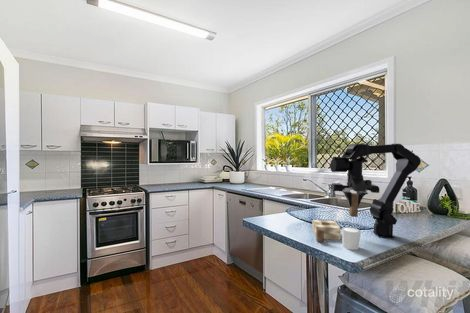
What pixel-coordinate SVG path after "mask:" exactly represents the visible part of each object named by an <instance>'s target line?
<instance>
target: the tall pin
mask: <svg viewBox="0 0 470 313" xmlns="http://www.w3.org/2000/svg"><path fill="white" fill-rule="evenodd" d="M351 193H352V194H351V207H350V206H349V216H350V217H351V218H352V217H354V218H357V217H358V215H359V212H358V210H359V206H358V194H357V192H356V193H355V192H351Z"/></svg>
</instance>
